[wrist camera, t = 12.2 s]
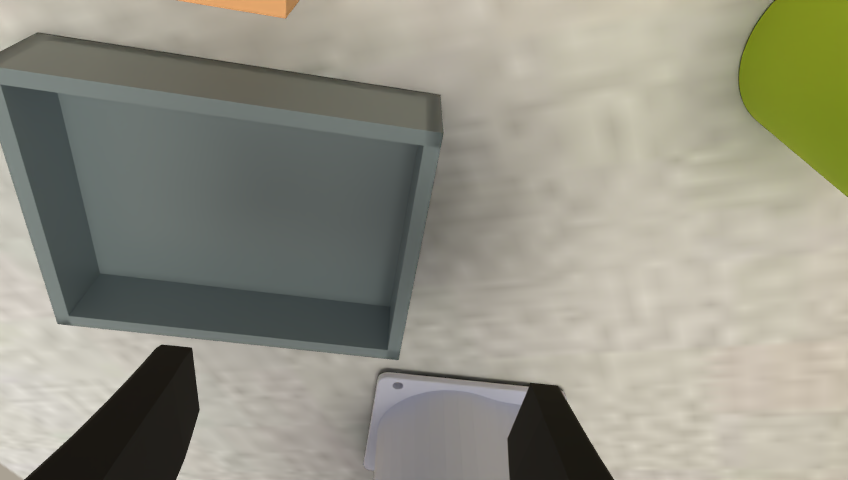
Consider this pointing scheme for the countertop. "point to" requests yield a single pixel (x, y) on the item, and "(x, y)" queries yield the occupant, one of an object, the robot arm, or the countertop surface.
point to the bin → (218, 195)
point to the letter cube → (253, 6)
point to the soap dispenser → (802, 81)
